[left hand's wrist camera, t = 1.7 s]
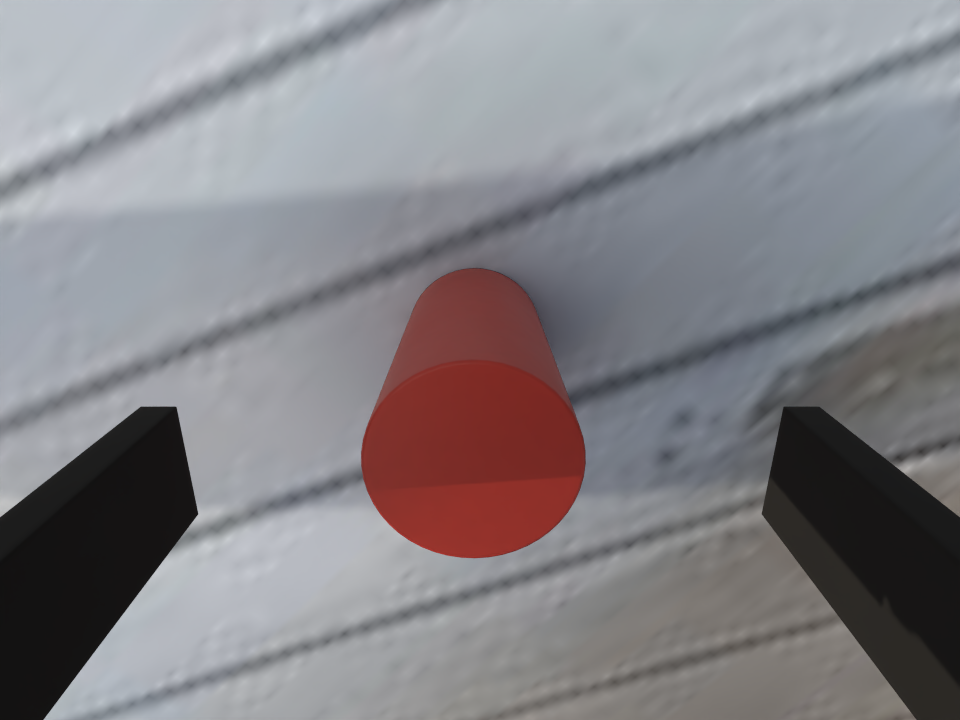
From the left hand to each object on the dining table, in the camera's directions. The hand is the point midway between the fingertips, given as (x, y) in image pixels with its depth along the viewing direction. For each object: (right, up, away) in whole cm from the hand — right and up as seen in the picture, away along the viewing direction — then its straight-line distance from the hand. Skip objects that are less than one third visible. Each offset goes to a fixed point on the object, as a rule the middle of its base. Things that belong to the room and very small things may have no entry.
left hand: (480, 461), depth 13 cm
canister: (0, +3, +11) cm, 11 cm away
